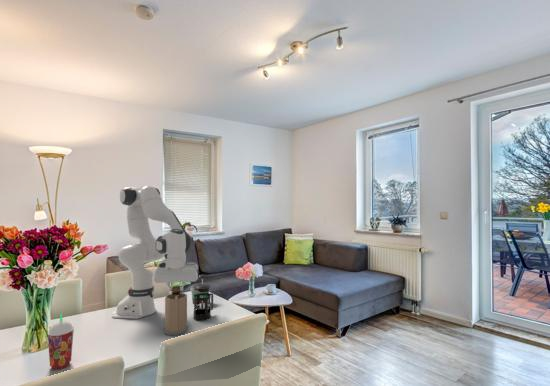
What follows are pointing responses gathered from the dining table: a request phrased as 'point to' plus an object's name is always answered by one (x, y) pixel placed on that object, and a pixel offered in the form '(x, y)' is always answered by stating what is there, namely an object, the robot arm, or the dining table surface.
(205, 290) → the french press
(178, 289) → the plunger
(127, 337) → the dining table surface
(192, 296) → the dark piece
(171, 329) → the kraft paper canister
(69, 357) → the smoothie
